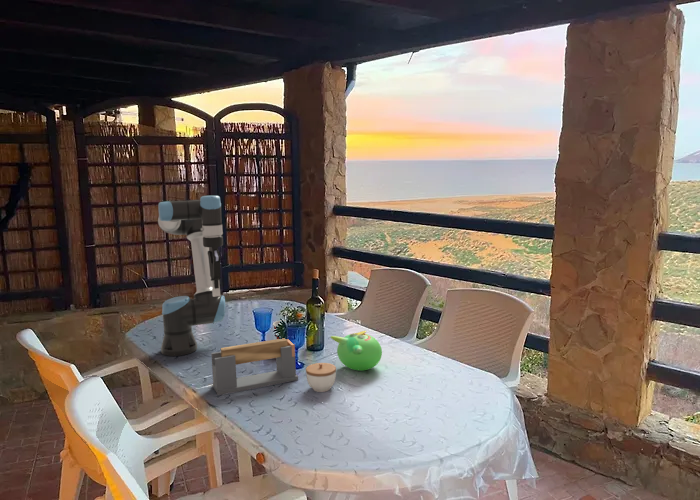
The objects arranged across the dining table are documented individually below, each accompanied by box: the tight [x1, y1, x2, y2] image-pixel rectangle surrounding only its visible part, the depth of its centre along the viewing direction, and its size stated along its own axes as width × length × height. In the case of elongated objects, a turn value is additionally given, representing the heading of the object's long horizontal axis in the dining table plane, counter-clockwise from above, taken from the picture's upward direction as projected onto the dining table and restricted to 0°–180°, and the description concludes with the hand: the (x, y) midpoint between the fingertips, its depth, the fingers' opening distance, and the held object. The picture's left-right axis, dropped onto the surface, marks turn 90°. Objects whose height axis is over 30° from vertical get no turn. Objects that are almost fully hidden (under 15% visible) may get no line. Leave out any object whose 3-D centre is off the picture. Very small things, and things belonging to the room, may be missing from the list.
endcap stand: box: [210, 339, 299, 396], centre depth 202 cm, size 9×30×14 cm, turn 115°
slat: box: [220, 338, 288, 366], centre depth 201 cm, size 3×24×6 cm, turn 114°
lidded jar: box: [305, 362, 337, 393], centre depth 196 cm, size 11×11×9 cm
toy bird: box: [330, 330, 383, 372], centre depth 214 cm, size 18×17×15 cm
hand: (216, 295), depth 215 cm, fingers closed
